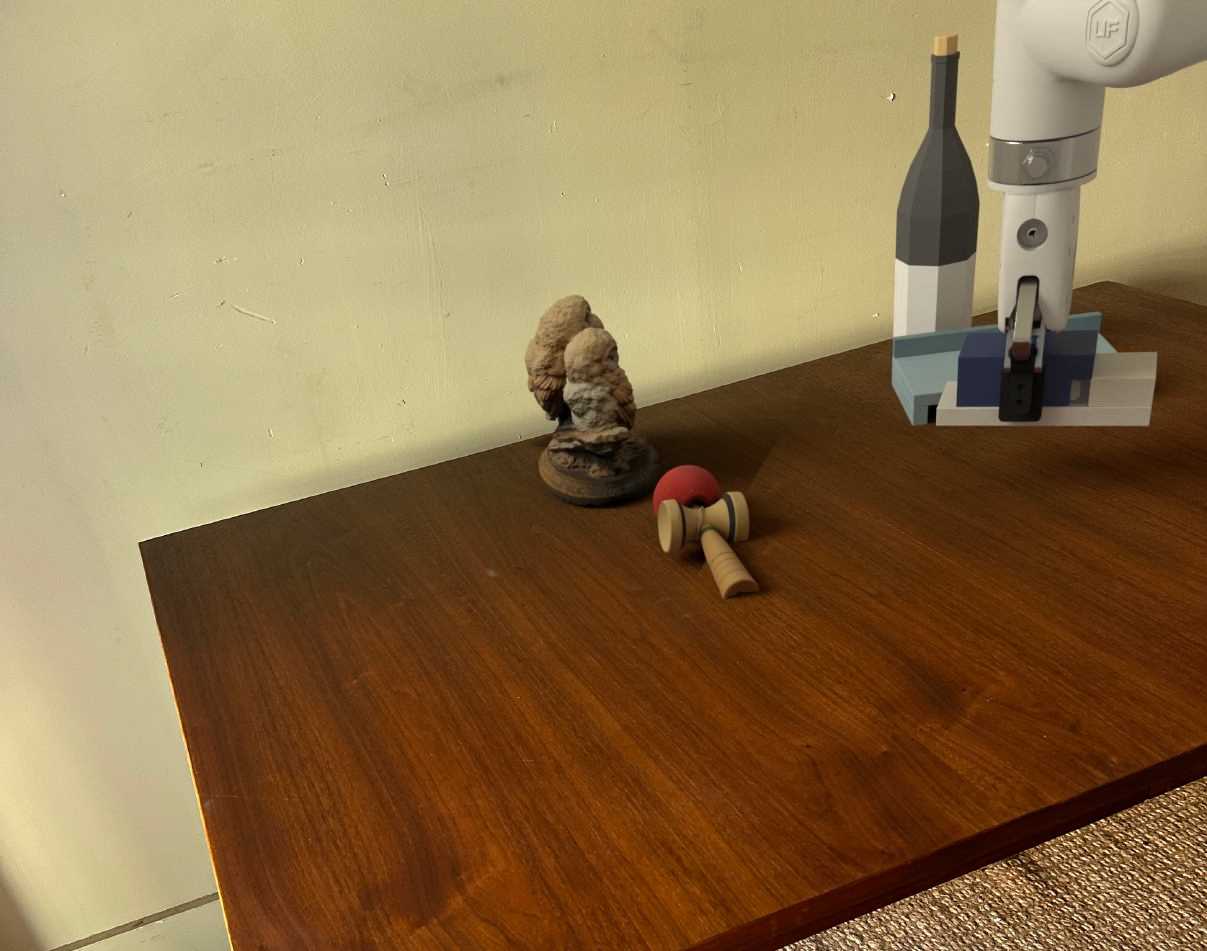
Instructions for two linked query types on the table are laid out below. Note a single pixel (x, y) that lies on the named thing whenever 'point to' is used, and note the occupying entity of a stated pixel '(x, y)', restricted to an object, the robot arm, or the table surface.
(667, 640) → the table surface
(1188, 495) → the table surface
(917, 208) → the wine bottle
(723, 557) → the kendama
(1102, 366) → the navy block on base
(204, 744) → the table surface
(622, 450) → the owl figurine
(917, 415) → the shelf
